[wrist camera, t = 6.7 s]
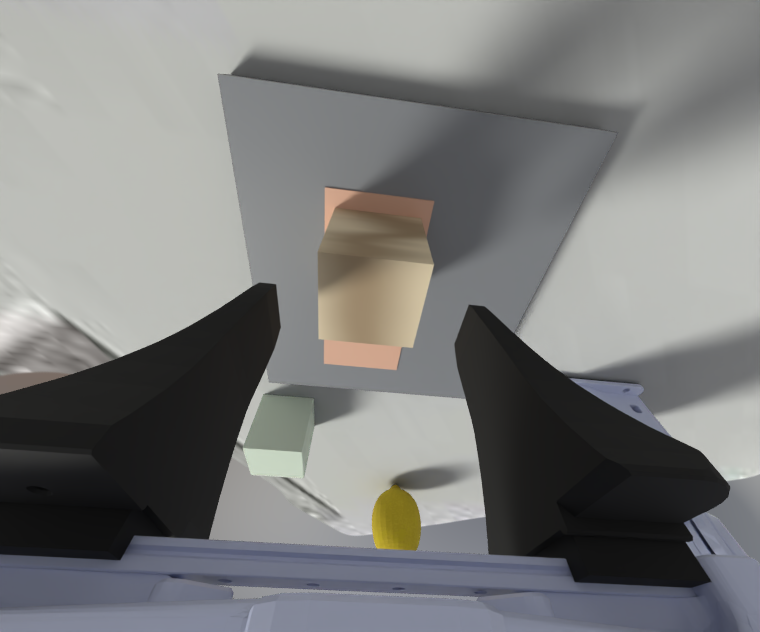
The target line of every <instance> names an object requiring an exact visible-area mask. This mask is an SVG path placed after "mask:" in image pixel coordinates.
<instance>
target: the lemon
mask: <svg viewBox="0 0 760 632" xmlns="http://www.w3.org/2000/svg"><path fill="white" fill-rule="evenodd" d="M372 530H373V537H374V542H375V545H376V548H377V549H395V550H414V551H416V550H417V548H418V545H419V540H420V534H421V521H420V514H419V510H418V507H417V504H416V502H415V500H414V499H413V498H412V496H411V495H410V494H409V493H407V492H406V491H404V490H401V489H400V488H399V486H398V485H393V486H392V487H391V488H390V489H389V490H387V491H385V492H384V493H382V494H381V495H380V496H379V498H378V500H377V501H376V503H375V506H374V509H373V514H372Z"/></svg>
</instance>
